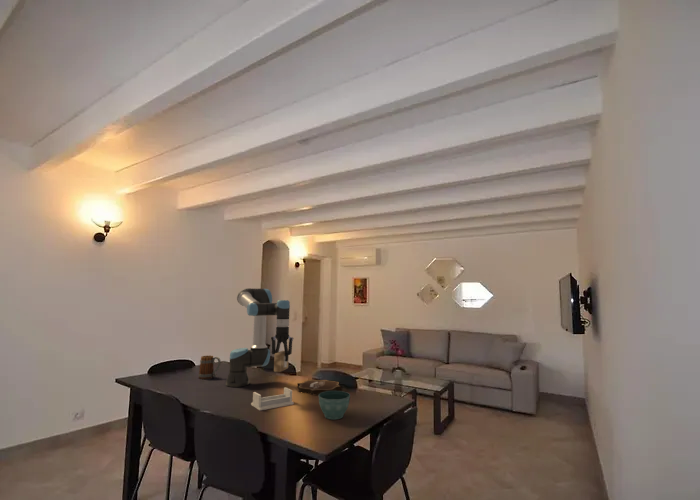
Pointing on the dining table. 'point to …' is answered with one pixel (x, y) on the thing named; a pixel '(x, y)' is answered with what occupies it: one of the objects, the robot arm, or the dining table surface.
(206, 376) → the mug
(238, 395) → the dining table surface
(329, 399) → the flower pot
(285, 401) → the track
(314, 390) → the decorative plaque
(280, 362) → the door panel
